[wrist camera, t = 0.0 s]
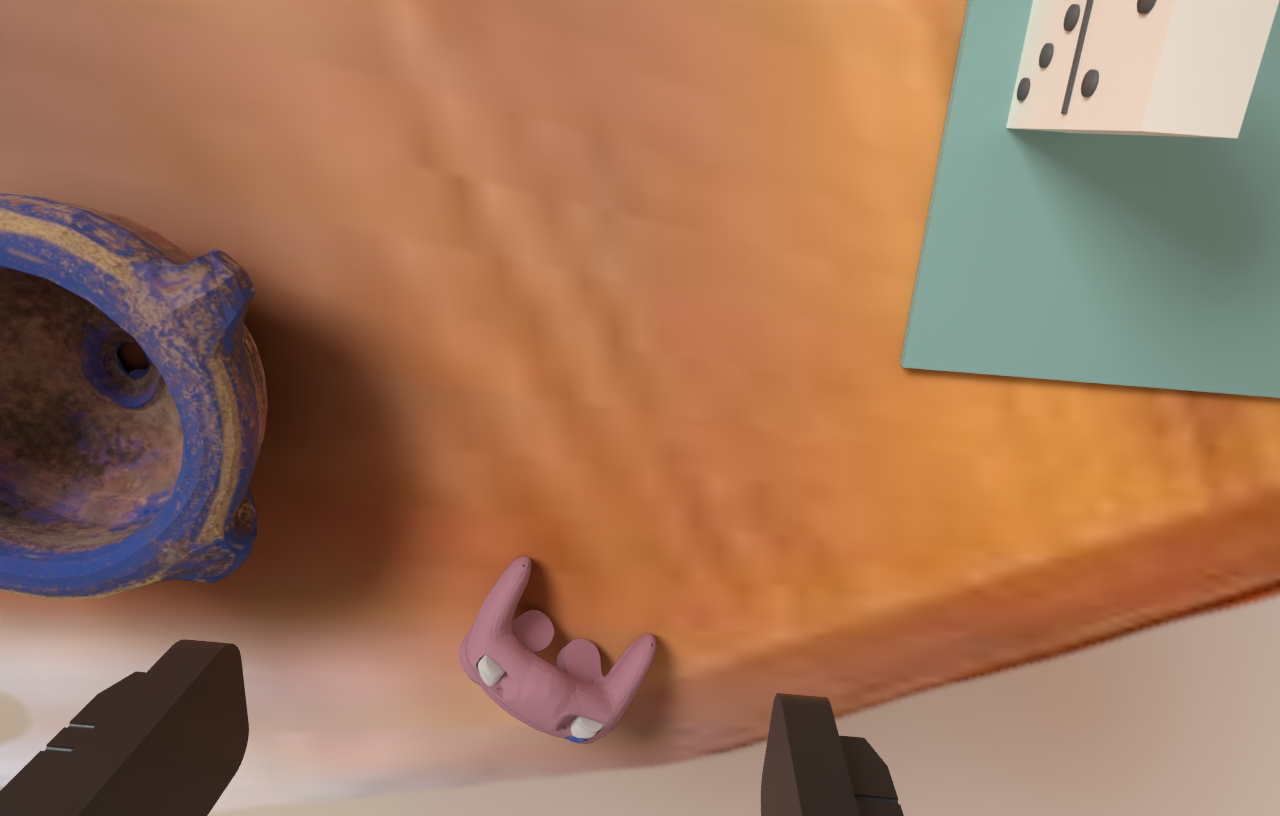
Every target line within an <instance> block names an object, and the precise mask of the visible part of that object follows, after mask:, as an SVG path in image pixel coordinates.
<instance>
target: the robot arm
mask: <svg viewBox="0 0 1280 816" xmlns="http://www.w3.org/2000/svg"><path fill="white" fill-rule="evenodd" d="M248 735H249V724H248V715H247V706H246V697H245V688H244V679H243V670H242V662H241V655H240V651H239V649H238V647H237V646H236V645H234V644H229V643H218V642H206V641H195V640H180V641H178V642H176V643H175V644H174V645H173V646H172V647H171V648H170V649H169V650H168V651H167V652H166V653H165V654H164V655H163V656H162V657H161V658H160V659H159V660H158V661H157V662H156V663H155V664H154V665H153V666H152V667H151V668H150V670H149V671H148V672H147V673H145V672H134V673H133V674H131V675H129V676H128V677H126V678H124V679H123V680H121V681H119V682H118V683H116V684H114V685H112V686H111V687H109V688H107V689H106V690H104V691H102V692H101V693H99V694H97V695H96V696H95V697H94V698H93V699H92V700H91V701H90V702H89V703H88V704H87V705H86V706H85V707H84V708H83V709H82V710H81V711H80V712H79V713H78V714H77V715H76V716H75V717H74V718H73V719H72V720H71V721H70V725H69V727H68V728H65V727H64V728H63V729H62V730H61V731H60V732H59V733H58V734H57V735H56V736H55V737H54V738H53V739H52V740H51V741H50V742H49V743H48V744H47V747H46V750H45V751H40V752H39V753H38V754H37V755H36V756H35V757H34V758H33V759H32V760H31V761H30V762H29V763H28V764H27V765H26V766H25V767H24V768H23V769H22V770H21V771H20V772H19V773H18V774H17V775H16V776H15V777H14V778H13V779H12V780H11V781H10V782H9V783H8V784H7V785H6V786H5V787H4V788H3V789H2V790H1V791H0V816H207V815H208V814H209V812H210V811H211V809H212V808H213V806H214V805H215V803H216V802H217V800H218V799H219V797H220V796H221V794H222V793H223V791H224V790H225V788H226V787H227V786H228V784H229V783H230V781H231V780H232V778H233V777H234V775H235V774H236V772H237V770H238V768H239V766H240V764H241V762H242V760H243V757H244V754H245V751H246V747H247V742H248ZM761 816H904V815H903V812H902V809H901V806H900V805H899V804H898V797H897V794H896V791H895V788H894V785H893V781H892V778H891V776H890V772H889V769H888V766H887V765H886V764H885V763H884V762H883V760H882V759H881V758H880V757H879V756H878V754H877V753H876V752H875V750H874V749H873V748H872V747H871V746H870V744H869V743H868V742H867V741H866V740H865V738H859V737H848V736H839V735H838V731H837V727H836V723H835V719H834V716H833V712H832V708H831V704H830V702H829V700H828V698H826V697H815V696H804V695H792V694H781V693H777V694H776V696H775V699H774V704H773V709H772V716H771V722H770V729H769V735H768V742H767V748H766V755H765V761H764V767H763V774H762V784H761Z"/></svg>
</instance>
